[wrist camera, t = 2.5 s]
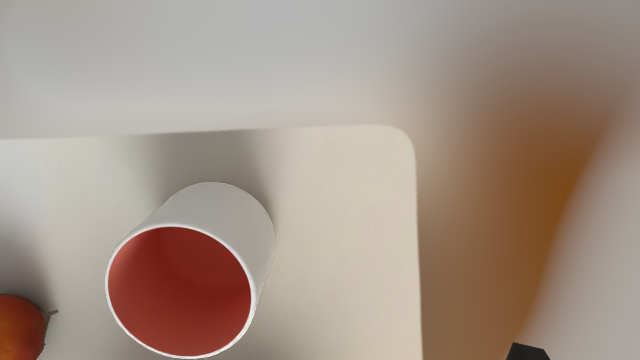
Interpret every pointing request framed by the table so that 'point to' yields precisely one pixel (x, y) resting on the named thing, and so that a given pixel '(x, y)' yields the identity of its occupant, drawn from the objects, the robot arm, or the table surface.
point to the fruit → (21, 328)
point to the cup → (192, 271)
